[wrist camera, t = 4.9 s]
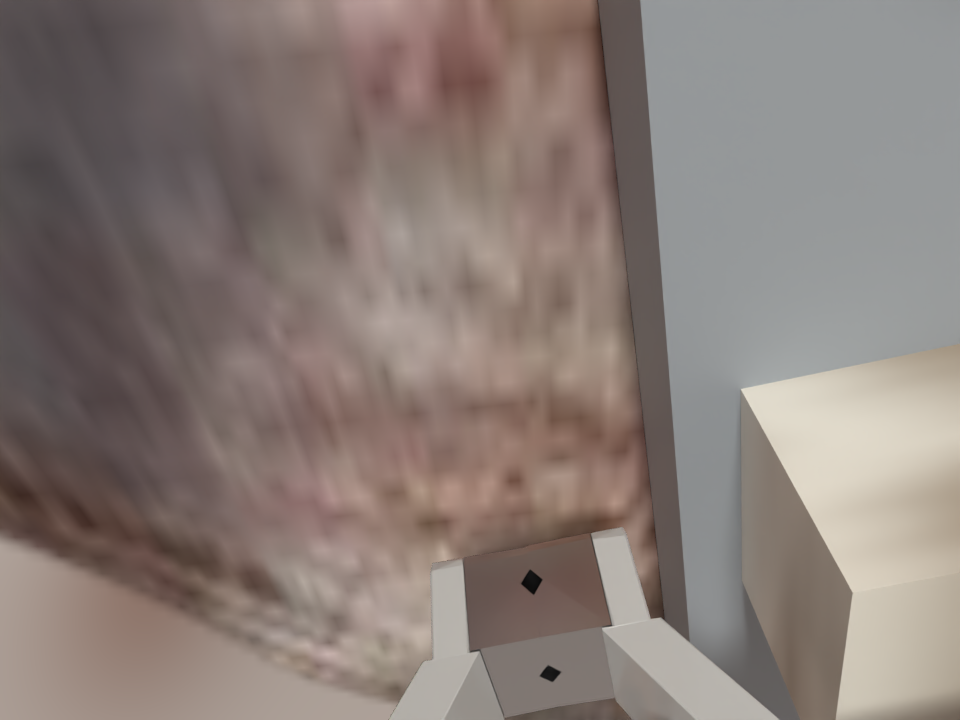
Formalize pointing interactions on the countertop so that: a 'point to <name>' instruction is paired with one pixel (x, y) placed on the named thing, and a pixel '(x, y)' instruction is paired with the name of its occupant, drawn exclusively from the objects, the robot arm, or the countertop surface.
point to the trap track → (771, 244)
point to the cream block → (858, 535)
